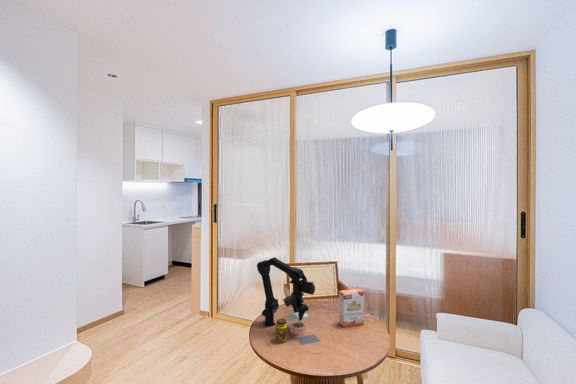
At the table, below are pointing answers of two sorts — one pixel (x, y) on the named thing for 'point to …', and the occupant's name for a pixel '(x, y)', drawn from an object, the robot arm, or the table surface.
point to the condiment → (281, 331)
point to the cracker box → (351, 307)
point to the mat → (307, 339)
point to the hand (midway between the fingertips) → (297, 317)
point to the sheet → (297, 317)
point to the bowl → (298, 328)
